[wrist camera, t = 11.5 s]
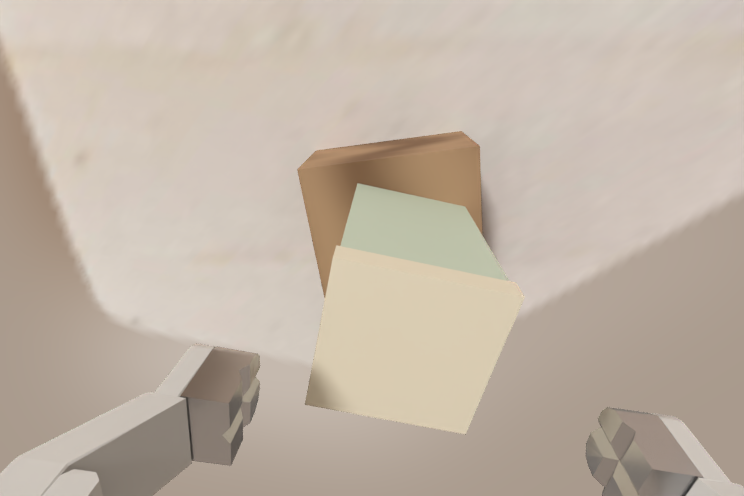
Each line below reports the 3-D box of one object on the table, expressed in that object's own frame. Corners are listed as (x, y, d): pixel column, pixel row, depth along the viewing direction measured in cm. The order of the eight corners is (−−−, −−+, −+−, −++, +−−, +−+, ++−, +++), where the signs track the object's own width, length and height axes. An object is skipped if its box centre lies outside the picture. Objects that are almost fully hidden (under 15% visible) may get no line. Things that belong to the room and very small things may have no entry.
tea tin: (468, 205, 18) (524, 297, 11) (436, 300, 20) (465, 434, 13) (355, 180, 18) (332, 257, 10) (335, 280, 20) (305, 404, 12)
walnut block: (460, 130, 21) (479, 145, 17) (466, 262, 25) (484, 305, 20) (316, 149, 22) (297, 169, 18) (340, 275, 25) (329, 319, 21)
